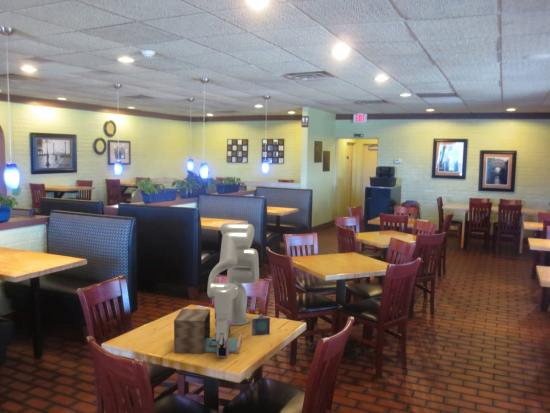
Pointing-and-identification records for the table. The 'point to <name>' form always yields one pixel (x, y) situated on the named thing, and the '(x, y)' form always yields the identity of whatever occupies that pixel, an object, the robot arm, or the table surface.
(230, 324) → the cupcake
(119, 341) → the table surface
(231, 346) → the tray
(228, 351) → the block
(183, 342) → the cabinet
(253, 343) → the table surface
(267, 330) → the flask
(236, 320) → the robot arm
